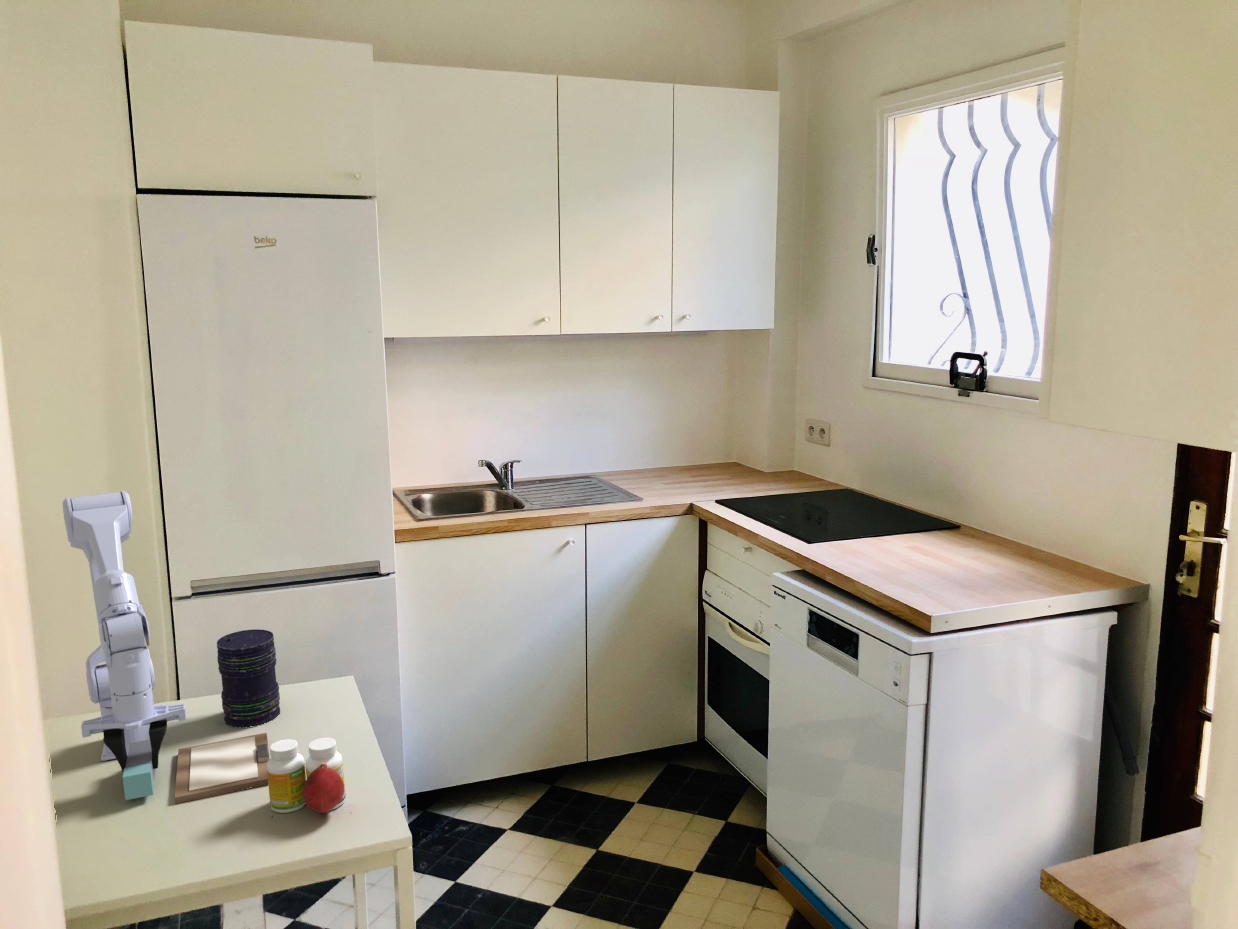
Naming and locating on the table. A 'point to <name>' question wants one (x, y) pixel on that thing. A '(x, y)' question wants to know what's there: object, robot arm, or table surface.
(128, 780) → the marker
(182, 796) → the clipboard
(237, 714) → the dark blue cylinder
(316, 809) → the onion
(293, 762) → the supplement bottle
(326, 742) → the supplement bottle
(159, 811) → the table surface
